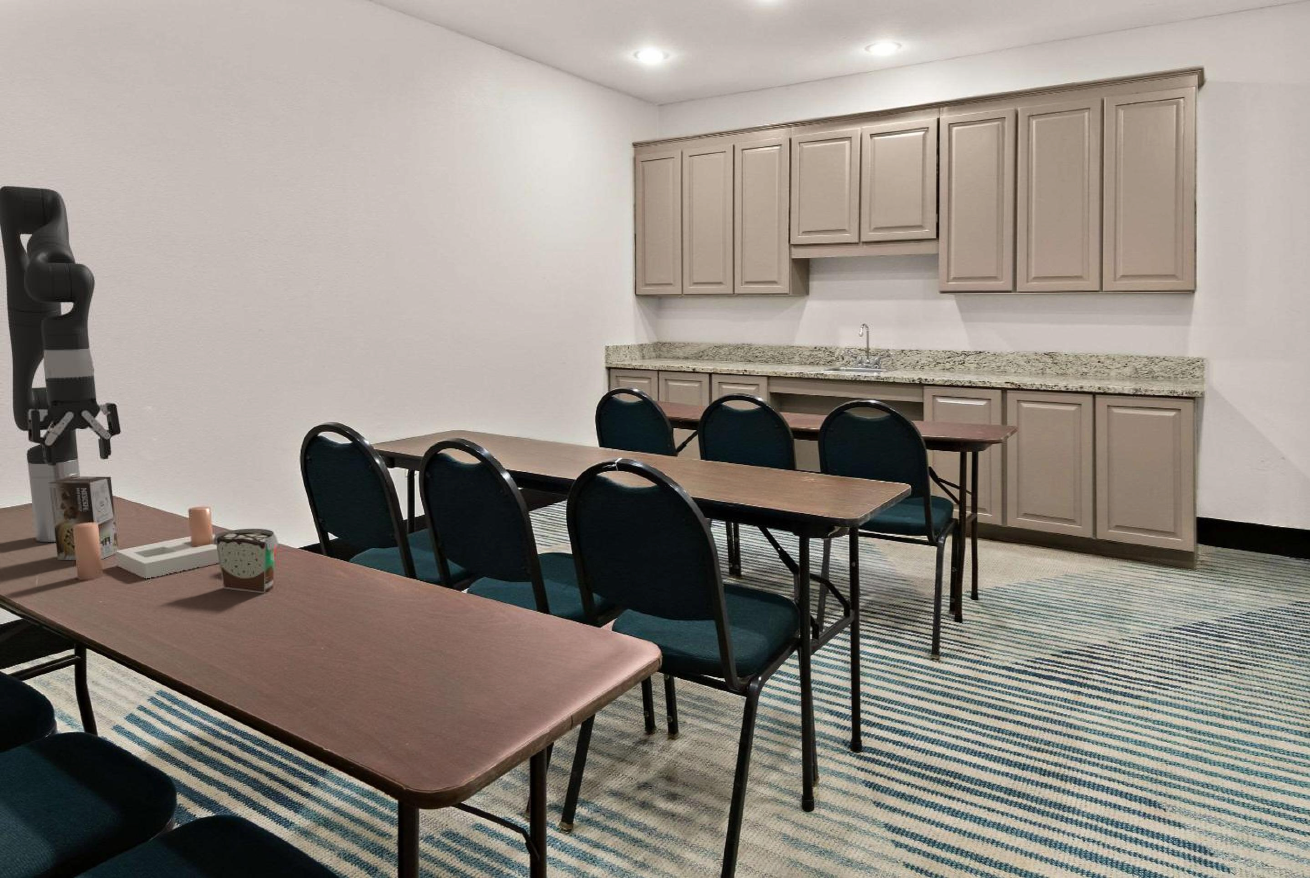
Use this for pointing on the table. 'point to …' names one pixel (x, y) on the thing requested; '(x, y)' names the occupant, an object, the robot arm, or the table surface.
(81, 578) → the pin
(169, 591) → the table surface
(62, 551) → the coffee box
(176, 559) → the pin board
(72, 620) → the table surface
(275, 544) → the food container
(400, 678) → the table surface
